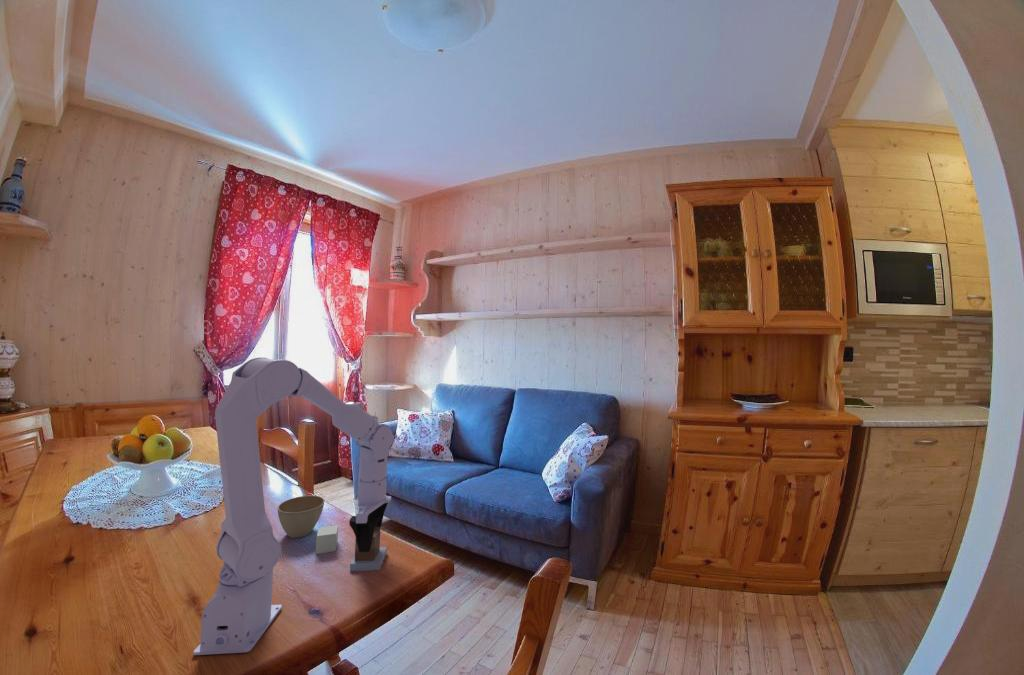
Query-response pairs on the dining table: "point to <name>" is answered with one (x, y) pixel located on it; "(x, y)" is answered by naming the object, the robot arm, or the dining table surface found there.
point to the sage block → (327, 539)
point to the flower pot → (300, 515)
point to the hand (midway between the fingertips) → (369, 541)
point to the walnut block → (373, 550)
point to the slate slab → (369, 562)
